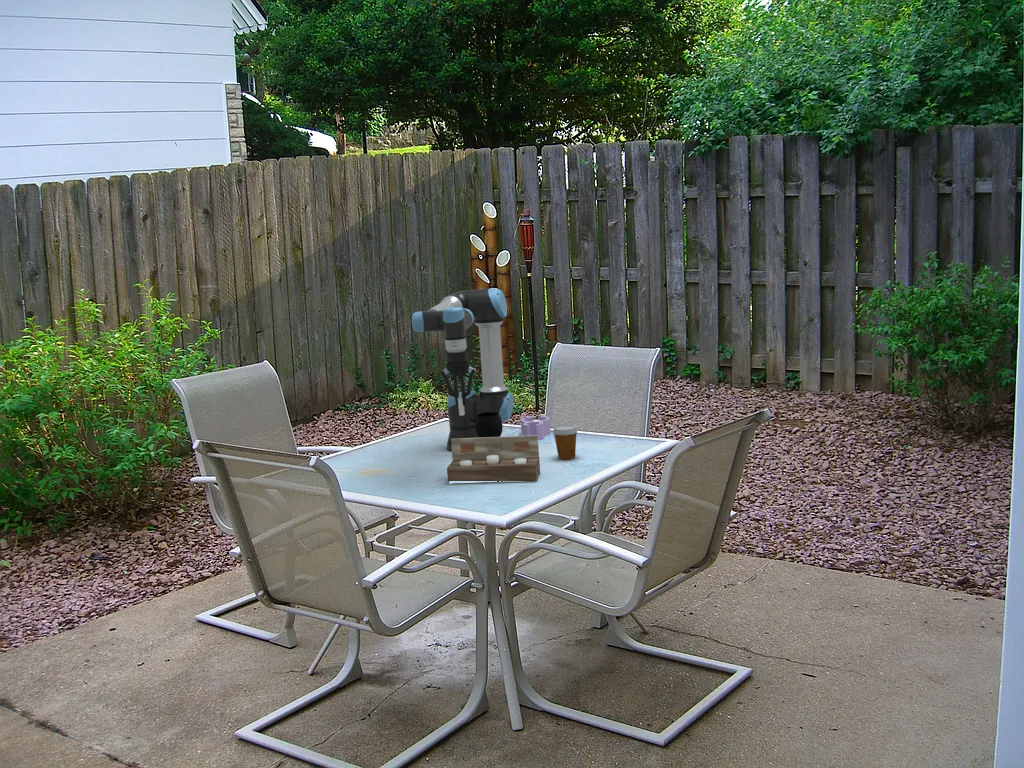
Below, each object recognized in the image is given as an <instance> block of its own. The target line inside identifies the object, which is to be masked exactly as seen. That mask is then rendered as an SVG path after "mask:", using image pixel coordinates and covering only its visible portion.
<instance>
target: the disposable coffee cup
mask: <svg viewBox="0 0 1024 768" xmlns="http://www.w3.org/2000/svg"><path fill="white" fill-rule="evenodd" d="M552 433H553V436H554V440H555V445H556V446H555V447H556V451H557V457H558V459H559V460H563V461H568V460H569V461H571V460H573V459H575V457H576V449H577V448H576V446H577V433H578V429H577V426H576V425H572V424H563V425H558V426H554V427H553V430H552Z"/></svg>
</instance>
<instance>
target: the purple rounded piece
mask: <svg viewBox="0 0 1024 768" xmlns="http://www.w3.org/2000/svg"><path fill="white" fill-rule="evenodd" d="M520 430H521V431H520V433H521V436H522V435H523V436H533V435H538V440H540V441H543V440H544V439H545V437H548V436H550V435H551V434H552V432H551V419H550V417H549V416H547V415H545V414H544V415H540V416H539V420H537V421H536V420H534V417H533V416H532V415H527V417H523V418H520ZM550 433H551V434H550ZM549 434H550V435H549ZM547 435H548V436H547ZM544 436H545V437H544ZM542 439H543V440H542Z"/></svg>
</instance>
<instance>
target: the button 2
mask: <svg viewBox="0 0 1024 768" xmlns="http://www.w3.org/2000/svg"><path fill="white" fill-rule="evenodd" d="M514 464H527V460H526V458H517V459H514Z"/></svg>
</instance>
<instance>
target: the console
mask: <svg viewBox="0 0 1024 768" xmlns="http://www.w3.org/2000/svg"><path fill="white" fill-rule="evenodd" d="M451 446H452V451H451V455H452V456H451V458H452V461H451V462H450V464H449V465H448V466H447V467H446V475H447V483H448V482H449V481H497V482H499V481H501V482H502V481H531V482H537V481H538V479H539V477H540V474H541V464H540V462H541V461H540V449H539V441H538V435H533V436H522V435H513V436H511V435H510V436H508V435H507V436H500V437H483V438H458V439H451ZM489 455H498V456H499V465H487V458H486V457H487V456H489ZM517 458H526V460H527V464H514V459H517ZM462 460H471V461H472V466H460V461H462ZM538 476H539V477H538ZM502 483H503V482H502Z"/></svg>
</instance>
